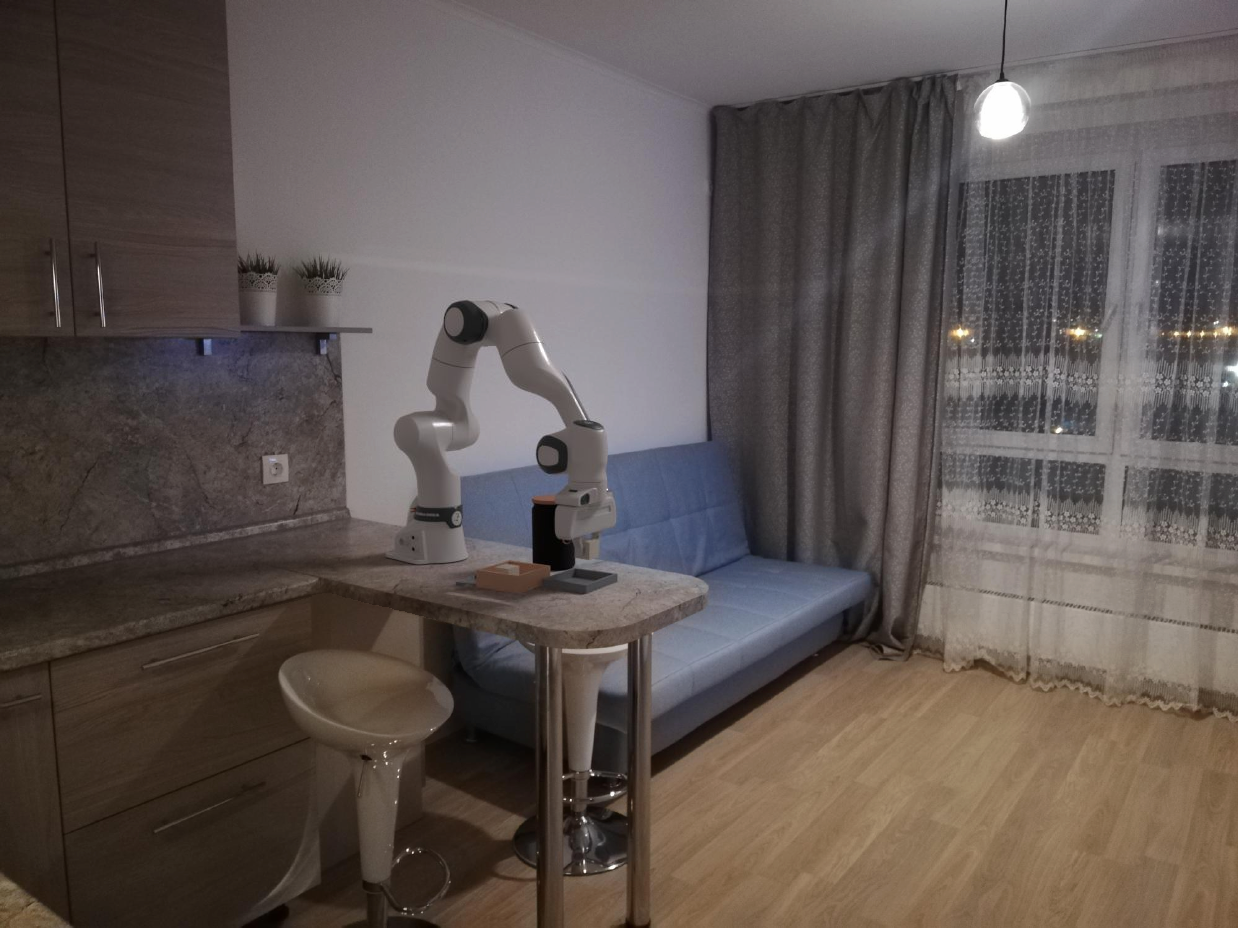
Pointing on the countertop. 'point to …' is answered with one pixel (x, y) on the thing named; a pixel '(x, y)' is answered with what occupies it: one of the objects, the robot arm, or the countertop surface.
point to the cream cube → (508, 569)
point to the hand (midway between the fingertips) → (586, 552)
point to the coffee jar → (549, 537)
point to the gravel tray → (579, 580)
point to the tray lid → (467, 581)
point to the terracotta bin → (512, 577)
